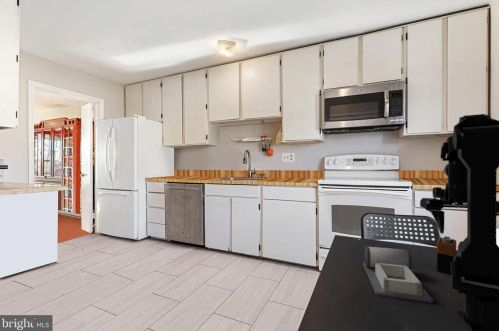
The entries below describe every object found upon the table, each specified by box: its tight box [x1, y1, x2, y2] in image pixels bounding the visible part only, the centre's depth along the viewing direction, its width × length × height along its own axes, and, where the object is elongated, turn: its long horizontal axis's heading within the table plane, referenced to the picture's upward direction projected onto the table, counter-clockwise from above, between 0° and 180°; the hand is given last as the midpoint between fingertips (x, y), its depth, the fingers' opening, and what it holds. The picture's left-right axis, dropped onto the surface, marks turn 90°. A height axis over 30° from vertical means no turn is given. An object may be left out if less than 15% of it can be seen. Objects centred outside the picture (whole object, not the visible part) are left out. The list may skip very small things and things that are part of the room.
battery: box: [436, 235, 457, 276], centre depth 76 cm, size 4×7×10 cm, turn 138°
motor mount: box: [362, 245, 434, 304], centre depth 69 cm, size 20×12×7 cm, turn 164°
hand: (460, 234), depth 72 cm, fingers open, 9 cm apart
